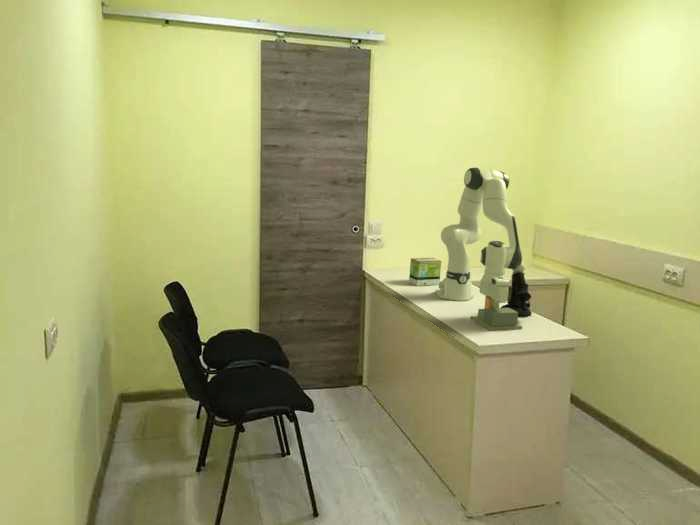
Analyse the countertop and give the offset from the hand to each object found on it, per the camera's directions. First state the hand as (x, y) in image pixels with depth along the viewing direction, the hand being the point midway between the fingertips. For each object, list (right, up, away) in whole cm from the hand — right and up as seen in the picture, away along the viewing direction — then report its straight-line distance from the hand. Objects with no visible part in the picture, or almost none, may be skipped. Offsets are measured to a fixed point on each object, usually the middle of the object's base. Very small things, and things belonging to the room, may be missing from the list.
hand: (491, 307), depth 265 cm
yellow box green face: (0, -3, +1) cm, 4 cm away
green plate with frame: (+1, -7, -3) cm, 8 cm away
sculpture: (+15, -5, +12) cm, 20 cm away
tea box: (-21, +8, +74) cm, 78 cm away
